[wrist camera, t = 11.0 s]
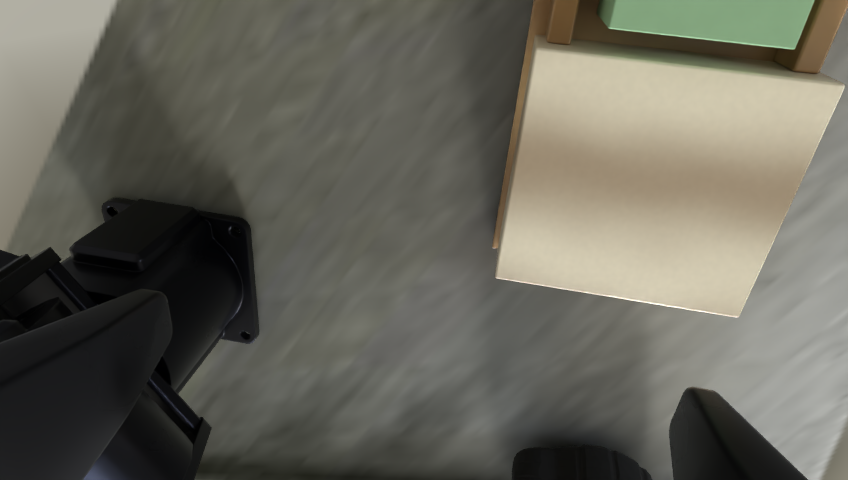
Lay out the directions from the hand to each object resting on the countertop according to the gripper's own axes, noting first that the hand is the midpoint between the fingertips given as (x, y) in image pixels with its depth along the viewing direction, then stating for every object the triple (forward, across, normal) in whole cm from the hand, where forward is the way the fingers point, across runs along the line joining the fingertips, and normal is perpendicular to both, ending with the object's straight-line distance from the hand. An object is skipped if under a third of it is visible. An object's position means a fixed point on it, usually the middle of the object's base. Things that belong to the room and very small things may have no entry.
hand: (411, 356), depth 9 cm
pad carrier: (+12, -6, -4) cm, 14 cm away
